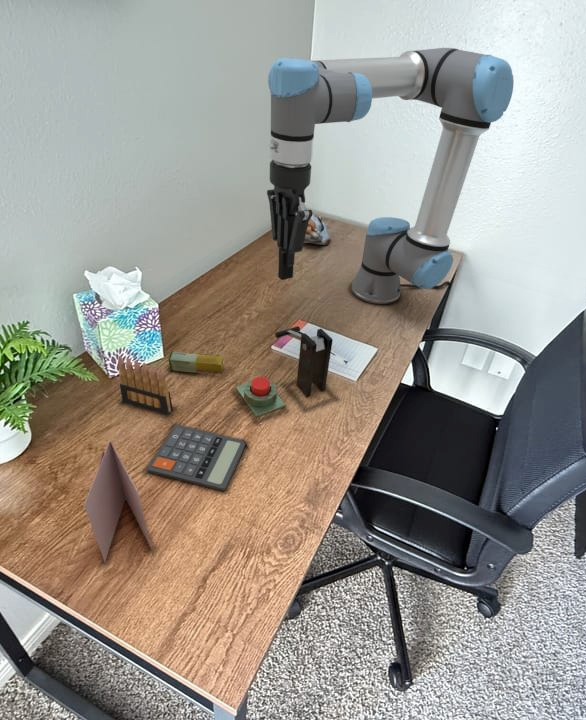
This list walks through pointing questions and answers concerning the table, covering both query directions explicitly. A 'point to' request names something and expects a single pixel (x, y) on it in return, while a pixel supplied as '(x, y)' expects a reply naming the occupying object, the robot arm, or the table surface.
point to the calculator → (198, 457)
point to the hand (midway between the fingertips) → (285, 277)
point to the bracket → (313, 363)
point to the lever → (294, 334)
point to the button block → (261, 399)
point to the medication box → (195, 362)
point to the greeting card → (112, 499)
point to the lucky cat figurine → (317, 231)
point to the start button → (260, 386)
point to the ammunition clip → (144, 387)
